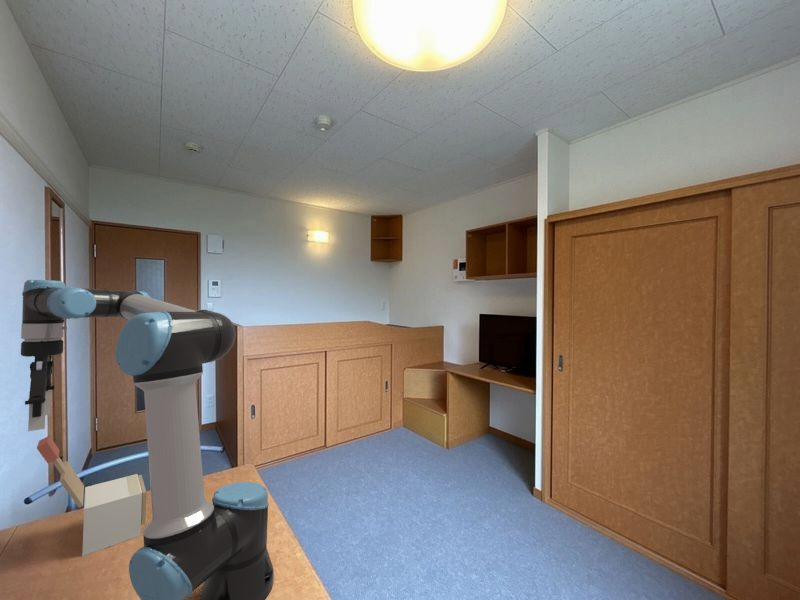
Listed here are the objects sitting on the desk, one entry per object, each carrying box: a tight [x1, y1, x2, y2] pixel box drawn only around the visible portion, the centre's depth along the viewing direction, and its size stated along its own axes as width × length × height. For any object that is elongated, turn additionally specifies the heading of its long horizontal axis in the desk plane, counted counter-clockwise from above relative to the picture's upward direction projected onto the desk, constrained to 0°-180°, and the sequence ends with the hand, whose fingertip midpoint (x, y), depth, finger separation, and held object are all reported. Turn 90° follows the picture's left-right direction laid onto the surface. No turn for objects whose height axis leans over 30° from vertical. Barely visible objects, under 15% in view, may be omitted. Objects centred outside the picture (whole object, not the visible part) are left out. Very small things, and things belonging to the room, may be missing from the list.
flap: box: [36, 435, 85, 509], centre depth 90 cm, size 13×18×2 cm
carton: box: [82, 473, 147, 557], centre depth 97 cm, size 14×13×12 cm
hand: (39, 422), depth 87 cm, fingers open, 13 cm apart
